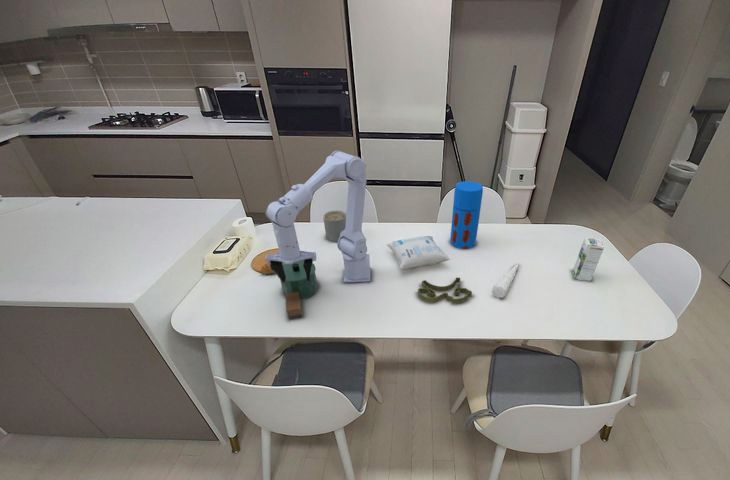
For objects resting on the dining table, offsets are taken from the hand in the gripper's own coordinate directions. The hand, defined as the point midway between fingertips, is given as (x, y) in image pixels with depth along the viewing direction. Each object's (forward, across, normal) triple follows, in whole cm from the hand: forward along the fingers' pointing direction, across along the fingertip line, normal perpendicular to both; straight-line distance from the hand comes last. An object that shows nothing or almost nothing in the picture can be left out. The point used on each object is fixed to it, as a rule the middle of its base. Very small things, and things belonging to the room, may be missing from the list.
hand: (296, 279), depth 110 cm
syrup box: (+11, +101, +8) cm, 102 cm away
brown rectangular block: (+10, -2, -2) cm, 11 cm away
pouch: (+11, +41, +24) cm, 49 cm away
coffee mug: (+11, +10, +46) cm, 48 cm away
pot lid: (+3, -2, +9) cm, 10 cm away
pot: (+10, -2, +9) cm, 14 cm away
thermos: (+11, +62, +36) cm, 72 cm away
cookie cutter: (+11, +48, +2) cm, 49 cm away
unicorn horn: (+11, +72, +7) cm, 73 cm away
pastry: (+10, -13, +22) cm, 28 cm away
